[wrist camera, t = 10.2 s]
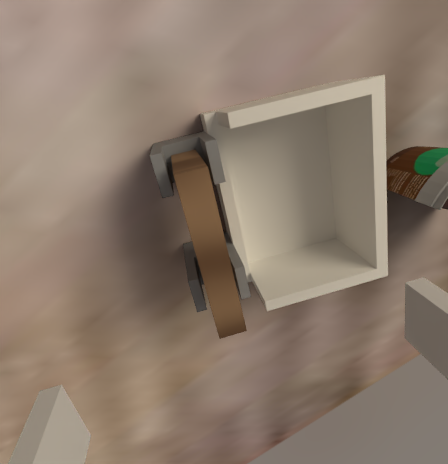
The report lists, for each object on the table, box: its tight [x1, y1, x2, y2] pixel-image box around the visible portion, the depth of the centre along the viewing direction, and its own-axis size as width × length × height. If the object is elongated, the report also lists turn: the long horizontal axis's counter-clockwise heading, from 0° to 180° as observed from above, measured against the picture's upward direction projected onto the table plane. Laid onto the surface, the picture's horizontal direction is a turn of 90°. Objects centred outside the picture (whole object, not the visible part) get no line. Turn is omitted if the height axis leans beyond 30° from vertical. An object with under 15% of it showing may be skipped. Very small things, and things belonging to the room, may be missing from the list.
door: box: [171, 150, 247, 338], centre depth 24 cm, size 12×2×8 cm, turn 12°
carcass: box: [150, 75, 388, 312], centre depth 28 cm, size 16×17×8 cm
